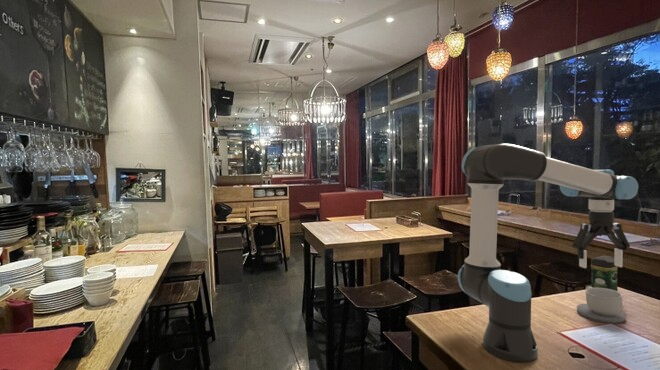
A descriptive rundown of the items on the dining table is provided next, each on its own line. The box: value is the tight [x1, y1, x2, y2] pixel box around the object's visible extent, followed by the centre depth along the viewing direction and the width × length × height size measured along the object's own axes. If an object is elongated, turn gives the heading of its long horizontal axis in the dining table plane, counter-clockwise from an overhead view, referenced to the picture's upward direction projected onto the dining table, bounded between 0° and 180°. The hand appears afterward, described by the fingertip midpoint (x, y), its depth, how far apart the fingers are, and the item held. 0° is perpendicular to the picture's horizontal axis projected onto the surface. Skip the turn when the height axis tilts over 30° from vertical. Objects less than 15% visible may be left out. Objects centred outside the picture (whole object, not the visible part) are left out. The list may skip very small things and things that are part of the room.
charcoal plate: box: [576, 303, 627, 325], centre depth 129 cm, size 15×15×2 cm
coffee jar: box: [590, 255, 619, 292], centre depth 143 cm, size 10×8×19 cm
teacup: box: [584, 285, 624, 316], centre depth 129 cm, size 14×11×8 cm
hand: (600, 266), depth 129 cm, fingers open, 13 cm apart
